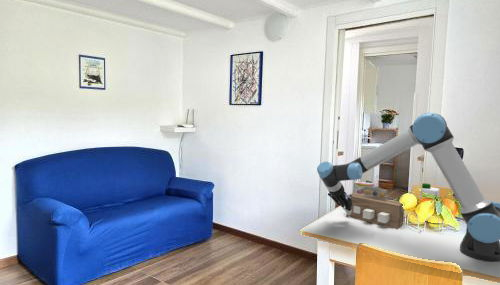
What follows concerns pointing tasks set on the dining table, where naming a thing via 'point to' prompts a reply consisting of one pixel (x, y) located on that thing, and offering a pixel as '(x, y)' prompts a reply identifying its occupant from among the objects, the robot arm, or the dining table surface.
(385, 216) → the button right
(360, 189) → the candy bar box
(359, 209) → the button left
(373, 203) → the console
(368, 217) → the button middle
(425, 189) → the milk carton
